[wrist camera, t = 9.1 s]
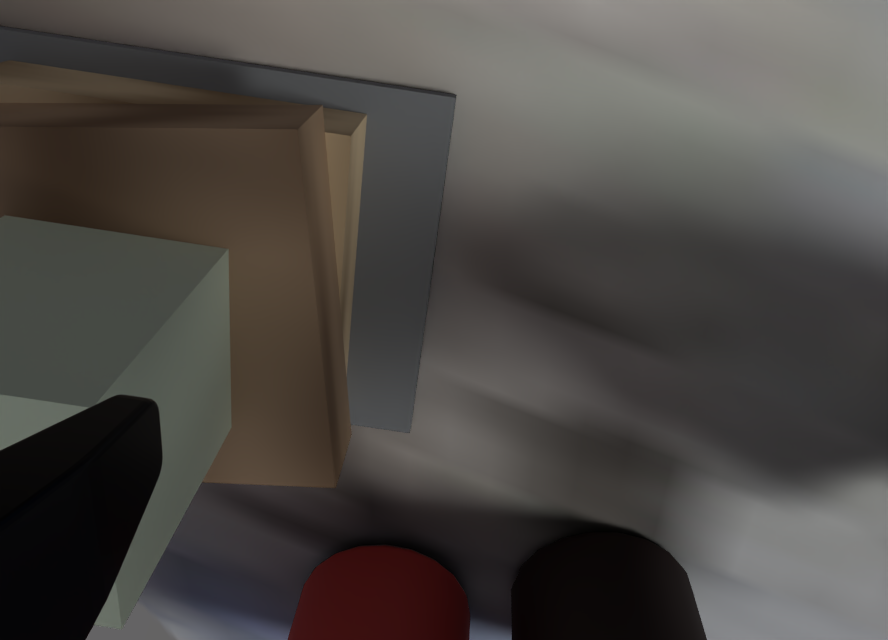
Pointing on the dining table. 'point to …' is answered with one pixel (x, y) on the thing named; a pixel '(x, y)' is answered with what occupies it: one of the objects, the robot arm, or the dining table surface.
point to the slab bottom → (340, 126)
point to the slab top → (218, 225)
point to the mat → (381, 205)
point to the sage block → (118, 356)
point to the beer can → (381, 598)
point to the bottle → (604, 592)
